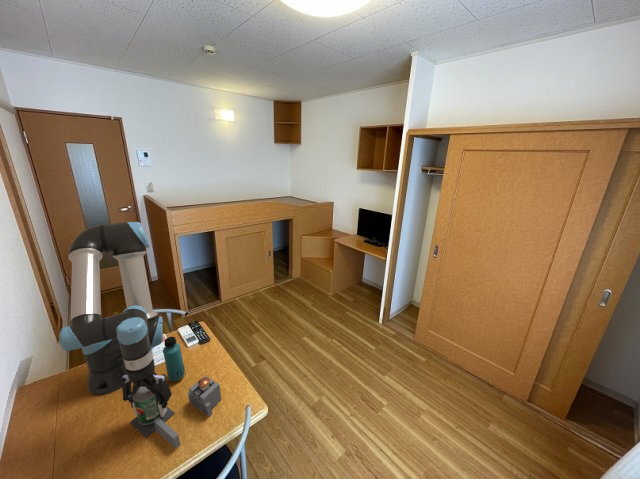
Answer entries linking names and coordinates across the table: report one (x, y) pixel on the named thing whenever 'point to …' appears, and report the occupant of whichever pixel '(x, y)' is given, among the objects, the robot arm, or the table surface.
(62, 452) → the table surface
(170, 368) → the beverage bottle
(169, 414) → the mat
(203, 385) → the plunger
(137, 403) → the canned tomato
